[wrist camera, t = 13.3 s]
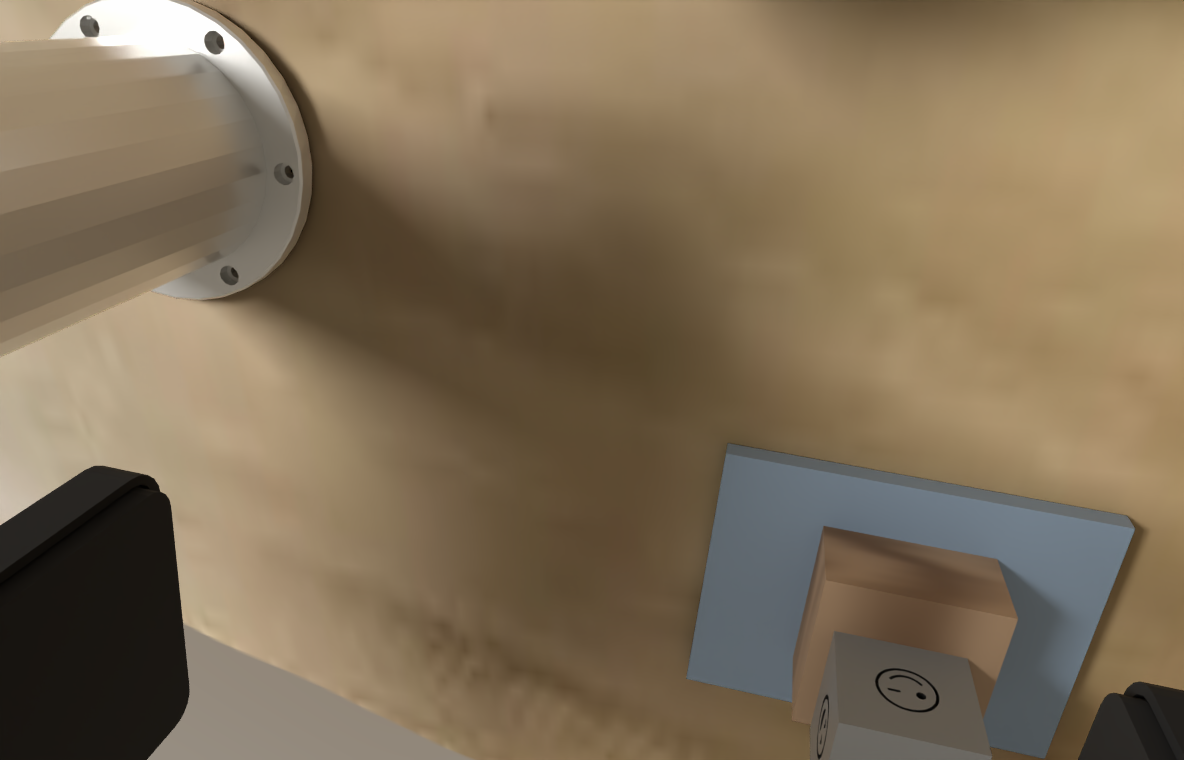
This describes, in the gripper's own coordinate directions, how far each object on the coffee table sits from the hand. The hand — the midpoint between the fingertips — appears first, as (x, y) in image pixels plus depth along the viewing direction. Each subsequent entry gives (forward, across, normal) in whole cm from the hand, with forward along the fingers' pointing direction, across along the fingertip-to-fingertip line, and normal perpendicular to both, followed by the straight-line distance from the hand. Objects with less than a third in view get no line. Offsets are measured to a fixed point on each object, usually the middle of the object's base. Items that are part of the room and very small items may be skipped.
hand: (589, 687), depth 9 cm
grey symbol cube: (+24, -9, +18) cm, 31 cm away
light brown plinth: (+27, -9, +17) cm, 33 cm away
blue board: (+28, -9, +17) cm, 34 cm away
